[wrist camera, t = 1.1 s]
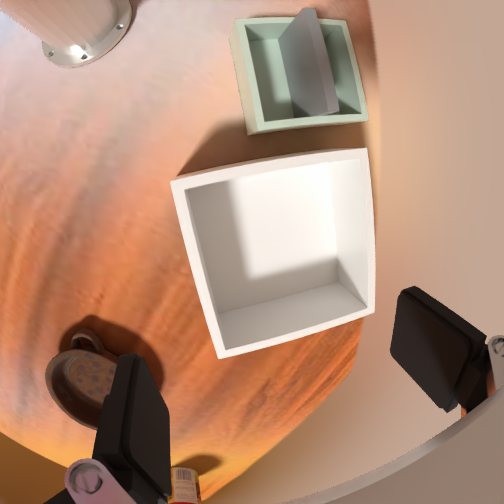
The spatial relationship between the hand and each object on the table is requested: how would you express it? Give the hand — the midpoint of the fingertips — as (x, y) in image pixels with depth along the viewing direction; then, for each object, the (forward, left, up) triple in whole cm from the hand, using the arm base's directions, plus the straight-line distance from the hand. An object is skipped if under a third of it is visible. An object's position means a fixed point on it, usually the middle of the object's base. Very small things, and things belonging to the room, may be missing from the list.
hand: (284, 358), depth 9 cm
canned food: (+54, -22, -27) cm, 64 cm away
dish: (+21, -24, -27) cm, 42 cm away
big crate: (+4, +6, -27) cm, 28 cm away
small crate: (-15, +12, -27) cm, 33 cm away
